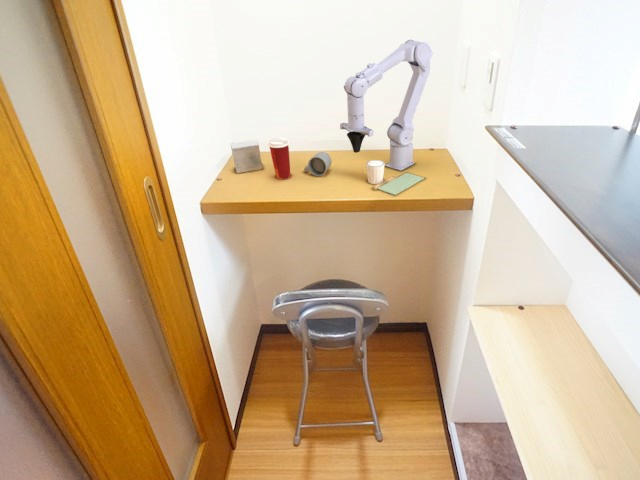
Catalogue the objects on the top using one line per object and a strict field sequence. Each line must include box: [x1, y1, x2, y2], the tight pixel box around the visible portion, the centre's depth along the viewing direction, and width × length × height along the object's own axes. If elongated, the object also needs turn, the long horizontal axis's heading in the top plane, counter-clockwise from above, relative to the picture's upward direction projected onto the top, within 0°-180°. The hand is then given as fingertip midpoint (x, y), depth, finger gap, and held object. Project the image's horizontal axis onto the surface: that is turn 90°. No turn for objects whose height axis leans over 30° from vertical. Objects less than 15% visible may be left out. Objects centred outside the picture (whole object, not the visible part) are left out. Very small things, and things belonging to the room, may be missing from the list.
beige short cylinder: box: [365, 159, 386, 185], centre depth 147 cm, size 7×7×7 cm
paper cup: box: [267, 137, 291, 180], centre depth 151 cm, size 8×8×14 cm
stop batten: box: [372, 175, 397, 191], centre depth 146 cm, size 12×1×1 cm, turn 137°
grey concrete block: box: [230, 139, 264, 174], centre depth 159 cm, size 10×6×10 cm, turn 110°
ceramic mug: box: [303, 151, 332, 177], centre depth 155 cm, size 11×8×8 cm
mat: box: [376, 172, 425, 196], centre depth 146 cm, size 18×8×1 cm, turn 137°
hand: (356, 151), depth 148 cm, fingers closed
